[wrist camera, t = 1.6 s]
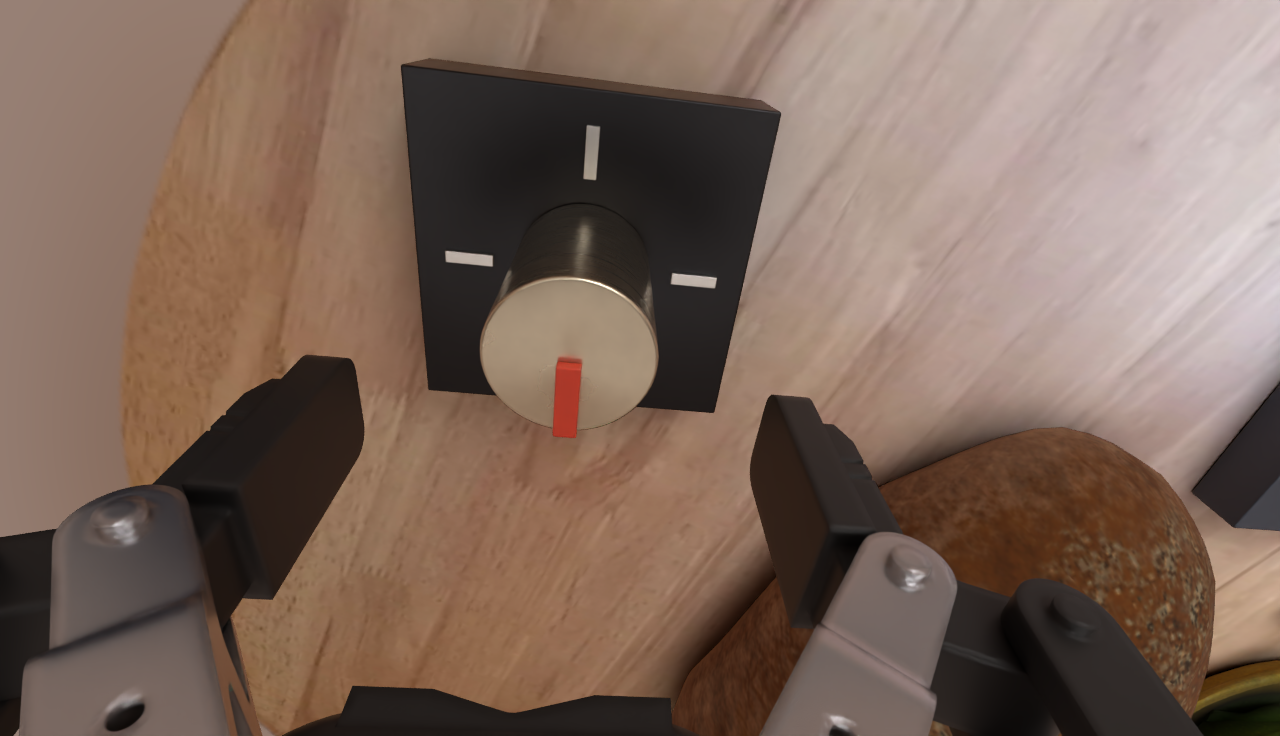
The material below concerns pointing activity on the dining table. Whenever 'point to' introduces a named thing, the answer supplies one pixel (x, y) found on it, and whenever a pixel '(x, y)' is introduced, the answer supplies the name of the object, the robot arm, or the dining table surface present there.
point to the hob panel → (582, 174)
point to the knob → (573, 322)
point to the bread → (1008, 564)
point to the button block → (1248, 473)
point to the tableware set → (1241, 702)
